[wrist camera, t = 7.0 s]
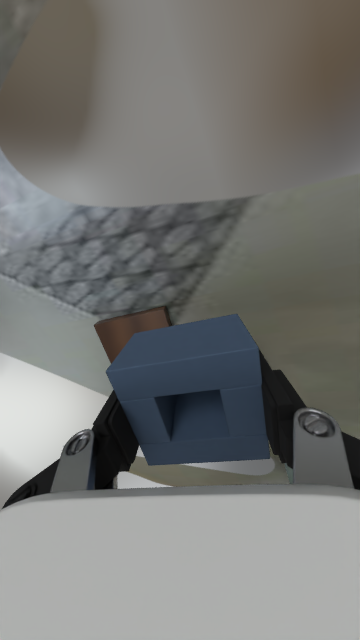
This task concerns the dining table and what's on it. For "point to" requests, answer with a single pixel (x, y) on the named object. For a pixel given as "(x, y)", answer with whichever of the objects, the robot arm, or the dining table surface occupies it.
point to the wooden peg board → (129, 328)
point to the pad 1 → (193, 392)
